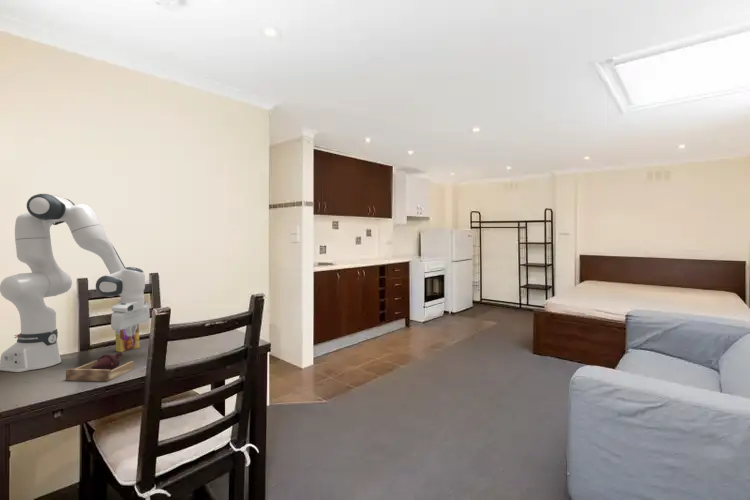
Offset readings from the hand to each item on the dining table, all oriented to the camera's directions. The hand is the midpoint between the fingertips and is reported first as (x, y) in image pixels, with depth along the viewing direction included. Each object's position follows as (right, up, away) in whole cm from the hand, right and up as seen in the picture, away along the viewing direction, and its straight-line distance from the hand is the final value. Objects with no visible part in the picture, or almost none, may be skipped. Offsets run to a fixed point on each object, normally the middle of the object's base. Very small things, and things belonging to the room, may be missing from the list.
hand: (131, 335), depth 167 cm
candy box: (-11, -10, +15) cm, 22 cm away
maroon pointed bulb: (0, -11, -15) cm, 19 cm away
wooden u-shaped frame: (0, -11, -18) cm, 21 cm away
